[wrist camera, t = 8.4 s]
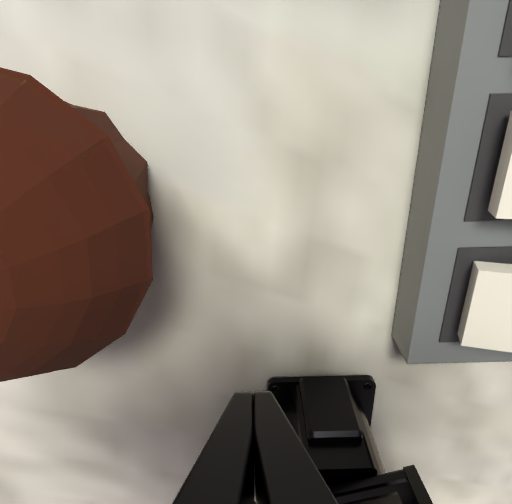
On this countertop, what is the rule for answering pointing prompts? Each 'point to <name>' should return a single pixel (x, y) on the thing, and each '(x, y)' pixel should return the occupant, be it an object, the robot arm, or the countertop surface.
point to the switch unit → (456, 181)
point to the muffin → (66, 230)
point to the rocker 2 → (503, 180)
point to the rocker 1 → (488, 308)
